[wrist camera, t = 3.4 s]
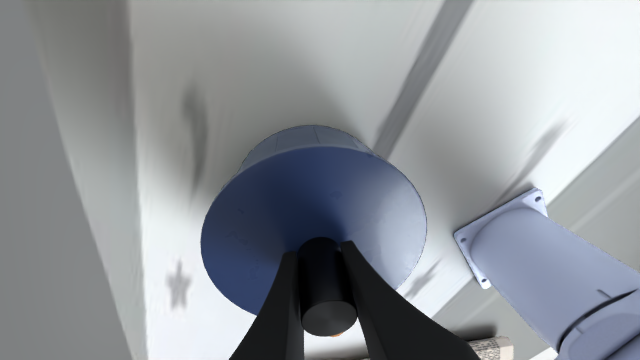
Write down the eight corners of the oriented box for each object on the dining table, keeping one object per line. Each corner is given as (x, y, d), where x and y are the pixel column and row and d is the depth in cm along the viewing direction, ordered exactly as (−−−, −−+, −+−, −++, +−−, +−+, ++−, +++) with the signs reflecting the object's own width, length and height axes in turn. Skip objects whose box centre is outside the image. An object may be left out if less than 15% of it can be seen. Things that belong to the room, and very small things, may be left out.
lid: (458, 210, 14) (532, 274, 10) (336, 327, 18) (351, 410, 14) (282, 84, 10) (277, 102, 6) (170, 271, 14) (117, 366, 10)
